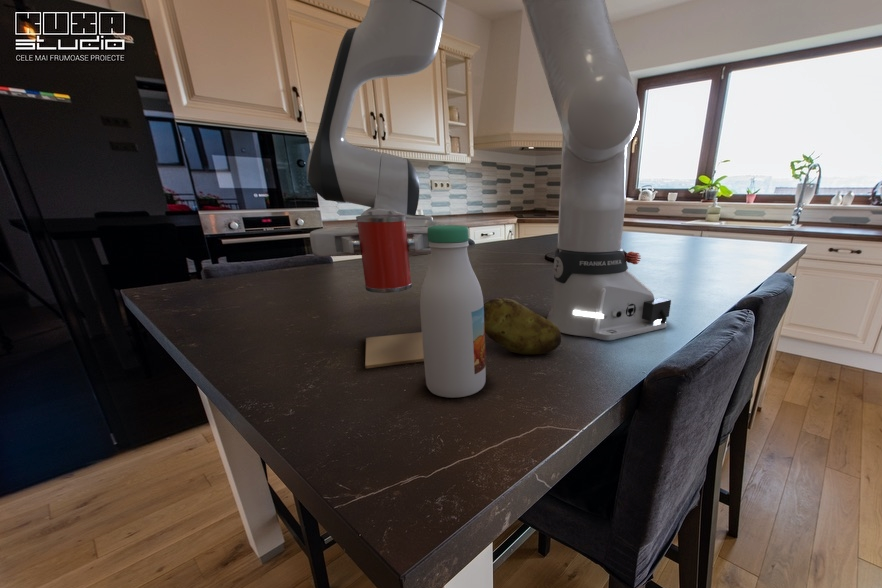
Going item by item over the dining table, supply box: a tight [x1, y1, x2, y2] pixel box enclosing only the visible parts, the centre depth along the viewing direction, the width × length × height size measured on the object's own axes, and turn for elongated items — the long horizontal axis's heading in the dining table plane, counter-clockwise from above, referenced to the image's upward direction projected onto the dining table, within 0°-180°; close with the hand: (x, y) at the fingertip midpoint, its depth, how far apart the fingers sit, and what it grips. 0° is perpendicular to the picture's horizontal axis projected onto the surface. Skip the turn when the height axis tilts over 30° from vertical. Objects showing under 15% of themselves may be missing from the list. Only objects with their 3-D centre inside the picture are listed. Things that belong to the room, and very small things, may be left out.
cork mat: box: [364, 331, 424, 370], centre depth 63 cm, size 12×12×1 cm
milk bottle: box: [419, 224, 487, 399], centre depth 48 cm, size 8×8×20 cm
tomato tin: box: [355, 215, 413, 294], centre depth 56 cm, size 6×6×10 cm
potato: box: [483, 297, 562, 356], centre depth 62 cm, size 8×13×8 cm, turn 54°
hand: (385, 246), depth 55 cm, fingers closed on tomato tin, 6 cm apart
